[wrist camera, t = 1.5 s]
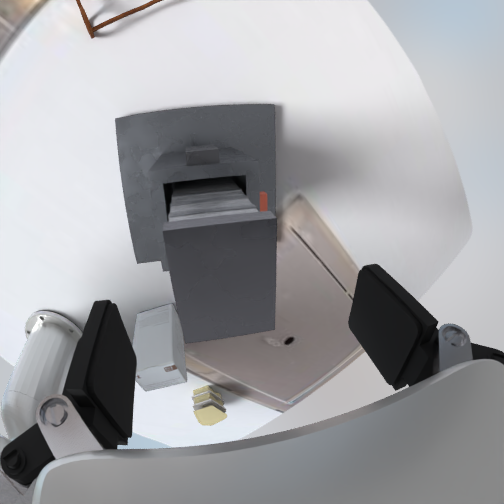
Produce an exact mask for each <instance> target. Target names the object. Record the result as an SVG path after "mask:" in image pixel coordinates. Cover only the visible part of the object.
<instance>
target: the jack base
mask: <svg viewBox="0 0 504 504" xmlns="http://www.w3.org/2000/svg"><path fill="white" fill-rule="evenodd" d="M115 122H116V135H117V146H118V155H119V164H120V172H121V180H122V187H123V193H124V200H125V206H126V212H127V217H128V223H129V228H130V233H131V238H132V243H133V247H134V252H135V257H136V261H137V264H138V263H146V262H154V261H161V263H162V268H163V272H164V271H169V266H168V261H167V255H166V249H165V244H164V237H163V225H164V222H169V218H168V215H169V213H170V203H172V195H173V191H174V185H175V182H179V181H187V180H196V179H206V178H216V177H227V176H230V178H231V179H232V180H233V181H234V182H235V184H236V185H237V186H238V187H239V188H241V189H242V192H243V193H244V194H245V195H247V196H248V199H249V200H250V202H251V203H252V204H254V205H255V206H256V209H257V210H258V211H259V212H261V211H271V212H272V213H273V215H274V216H275V107H274V104H244V105H218V106H203V107H191V108H181V109H172V110H164V111H156V112H150V113H143V114H137V115H131V116H126V117H120V118H115Z"/></svg>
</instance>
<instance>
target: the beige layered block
mask: <svg viewBox="0 0 504 504" xmlns="http://www.w3.org/2000/svg"><path fill="white" fill-rule="evenodd" d="M193 393H194V396H192V399H193V401H194V405H193V408H194V410H195V411H194V414H195V416H196V418H197V420H198V422H199V423H200V424H201V425H210V426H211V425H214V424H216V423H218V422H220V421H222V420H224V419H225V418H226V417H227V414H225V412H226V409H225V408H224V407H223V405H224V400H223V399H222V398H221V395H220V394H219V393H215V392H214V391H213V390H212V389H211V388H210V387H209V386H205V387H202V388H199V389H196V390H193Z"/></svg>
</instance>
